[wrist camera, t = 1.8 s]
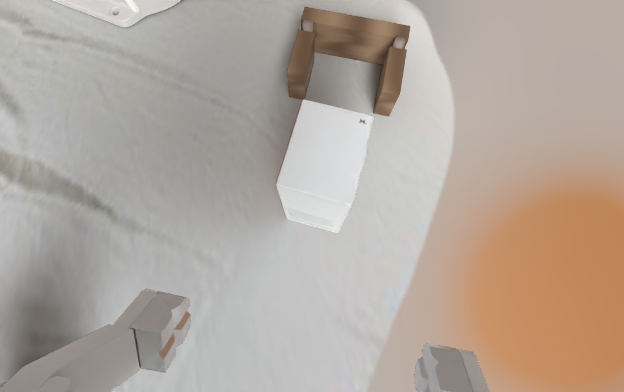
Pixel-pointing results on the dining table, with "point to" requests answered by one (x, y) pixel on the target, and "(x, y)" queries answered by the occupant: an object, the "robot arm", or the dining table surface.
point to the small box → (323, 164)
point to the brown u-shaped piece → (350, 50)
